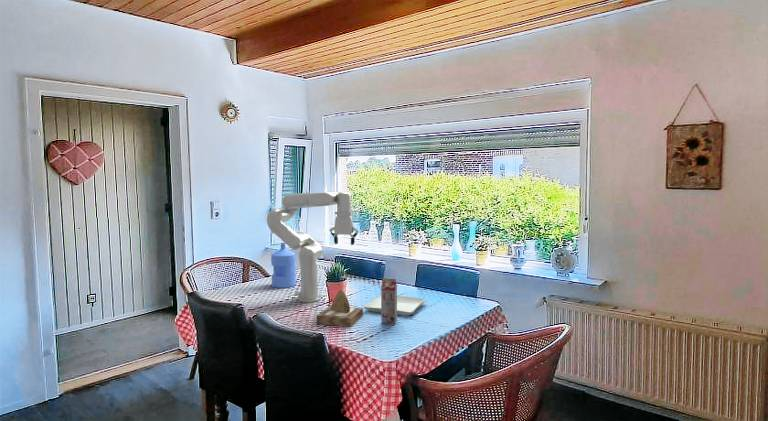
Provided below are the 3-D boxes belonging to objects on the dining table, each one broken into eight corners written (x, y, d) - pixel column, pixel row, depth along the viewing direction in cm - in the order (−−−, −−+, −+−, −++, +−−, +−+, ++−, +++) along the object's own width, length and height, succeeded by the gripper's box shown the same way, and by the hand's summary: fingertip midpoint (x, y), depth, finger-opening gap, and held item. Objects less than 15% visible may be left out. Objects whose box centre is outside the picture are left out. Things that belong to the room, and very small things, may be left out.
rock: (355, 307, 239) (350, 300, 248) (346, 295, 236) (341, 288, 245) (338, 321, 237) (334, 313, 246) (328, 310, 234) (324, 302, 243)
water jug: (288, 281, 326) (287, 240, 323) (300, 285, 314) (299, 243, 312) (267, 285, 315) (266, 243, 313) (279, 289, 304) (278, 245, 301)
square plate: (362, 313, 254) (362, 305, 253) (382, 300, 279) (382, 293, 279) (411, 318, 244) (411, 311, 243) (427, 304, 269) (427, 298, 269)
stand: (316, 323, 235) (316, 315, 235) (330, 313, 252) (330, 305, 252) (351, 326, 230) (351, 318, 230) (362, 315, 247) (362, 307, 247)
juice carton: (394, 324, 232) (394, 280, 231) (381, 324, 234) (381, 279, 232) (396, 320, 239) (396, 277, 237) (383, 320, 240) (383, 276, 238)
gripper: (327, 214, 268) (327, 244, 269) (356, 215, 263) (356, 245, 265) (332, 213, 275) (332, 242, 277) (360, 213, 271) (361, 243, 272)
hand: (344, 244), depth 271 cm, fingers open, 9 cm apart
